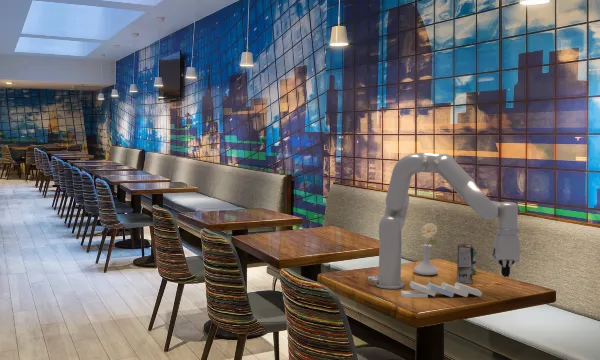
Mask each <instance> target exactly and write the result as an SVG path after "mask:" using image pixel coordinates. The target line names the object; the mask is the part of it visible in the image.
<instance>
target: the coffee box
mask: <svg viewBox="0 0 600 360" xmlns="http://www.w3.org/2000/svg"><path fill="white" fill-rule="evenodd" d="M473 248H474V246H473V245H472V244H471V243H470V244H465V243H461V244H459V243H458V244H457V253H456V255H457V260H456V282H458V283H461V284H472V283H473V275H472V270H473Z"/></svg>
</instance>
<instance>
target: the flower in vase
mask: <svg viewBox="0 0 600 360" xmlns="http://www.w3.org/2000/svg"><path fill="white" fill-rule="evenodd" d="M420 232H421V239H422V240H423V241H425V242H426V243H427V244H421V247H422V250H423V260H422V261H421V262H420V263H419V264H417V265H416V266H415V267H414V268H413V272H414V273H416V274H418V275H422V276H433V275H436V274H438V272H439V270H438V268H437V267H436V266H435V265H434V264H433V263H431V261H430V260H429V259H430V257H429V256H430V252H431V251H430V250H431V248H432V247H433V245H438V242H437V240H436V239H435V238H434V237H435V235H436V234H437V232H438V227H437V225H436V224H434V223H432V222H430V223H429V222H427V223H426V224H424V225H423V226H422V228H421V230H420ZM433 238H434V239H433ZM427 239H430V240H429V242H428V240H427ZM430 243H431V244H432V245H431V244H430Z"/></svg>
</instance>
